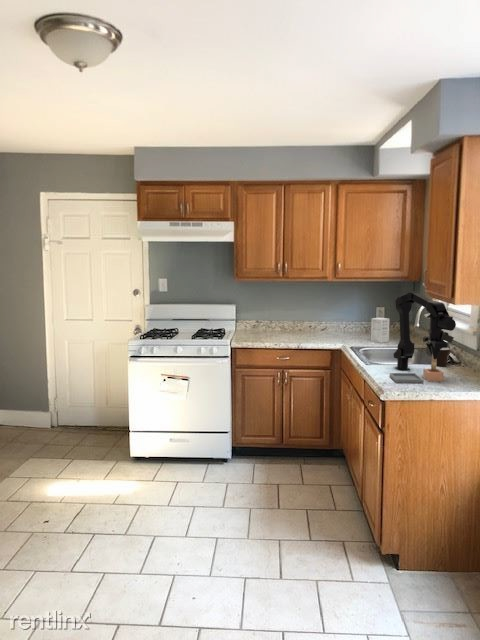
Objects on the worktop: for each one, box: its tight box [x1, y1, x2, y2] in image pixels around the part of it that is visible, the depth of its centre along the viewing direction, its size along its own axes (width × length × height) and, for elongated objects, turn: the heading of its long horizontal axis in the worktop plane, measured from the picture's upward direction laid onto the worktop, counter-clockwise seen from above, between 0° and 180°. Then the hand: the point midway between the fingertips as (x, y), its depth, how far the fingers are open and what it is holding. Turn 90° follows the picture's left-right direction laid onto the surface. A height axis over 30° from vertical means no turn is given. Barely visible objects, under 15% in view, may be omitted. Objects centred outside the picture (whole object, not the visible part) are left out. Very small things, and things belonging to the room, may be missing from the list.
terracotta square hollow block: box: [422, 368, 445, 382], centre depth 248 cm, size 7×7×4 cm
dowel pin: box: [430, 355, 437, 371], centre depth 247 cm, size 2×2×9 cm
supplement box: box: [370, 317, 390, 344], centre depth 354 cm, size 10×9×17 cm
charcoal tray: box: [389, 372, 425, 385], centre depth 246 cm, size 13×13×2 cm
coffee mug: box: [436, 347, 450, 368], centre depth 278 cm, size 12×9×10 cm
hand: (434, 358), depth 246 cm, fingers closed on dowel pin, 2 cm apart
